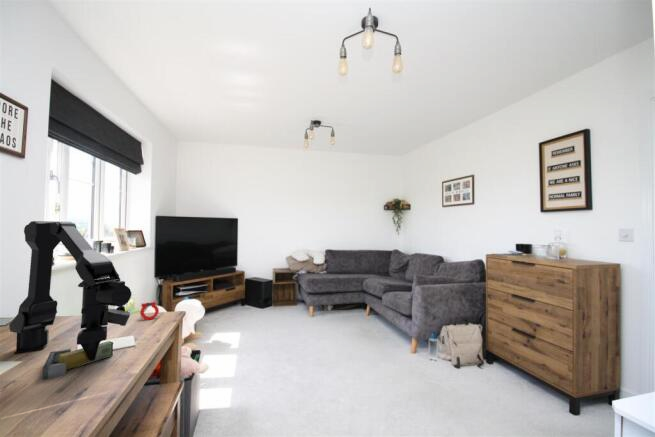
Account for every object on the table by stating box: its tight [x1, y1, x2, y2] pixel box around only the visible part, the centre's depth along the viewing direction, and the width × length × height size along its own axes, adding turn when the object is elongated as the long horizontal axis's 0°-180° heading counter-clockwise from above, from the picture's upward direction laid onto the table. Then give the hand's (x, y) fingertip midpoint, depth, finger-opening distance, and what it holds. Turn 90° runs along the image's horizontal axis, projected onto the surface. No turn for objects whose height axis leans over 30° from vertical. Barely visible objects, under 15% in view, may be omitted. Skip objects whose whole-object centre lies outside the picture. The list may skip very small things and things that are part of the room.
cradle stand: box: [41, 348, 72, 381], centre depth 80 cm, size 4×11×3 cm, turn 36°
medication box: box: [58, 341, 114, 371], centre depth 84 cm, size 12×3×4 cm, turn 149°
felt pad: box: [76, 335, 136, 351], centre depth 95 cm, size 15×10×1 cm, turn 126°
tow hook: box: [139, 301, 160, 321], centre depth 126 cm, size 7×10×7 cm
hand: (92, 357), depth 85 cm, fingers open, 4 cm apart
